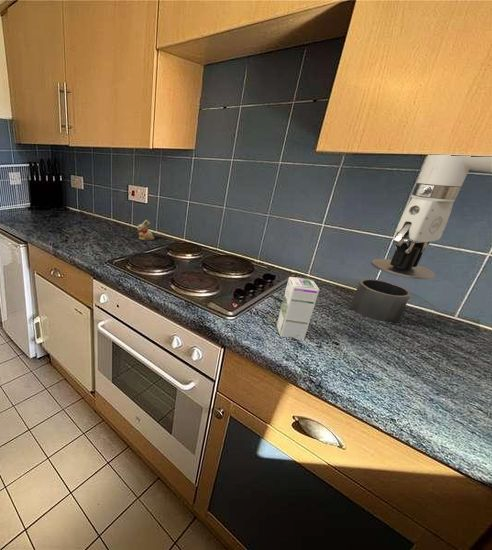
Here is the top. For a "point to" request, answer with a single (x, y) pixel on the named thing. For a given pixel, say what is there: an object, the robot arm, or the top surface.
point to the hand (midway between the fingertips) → (403, 265)
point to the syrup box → (297, 307)
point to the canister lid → (409, 270)
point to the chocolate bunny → (145, 231)
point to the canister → (380, 300)
